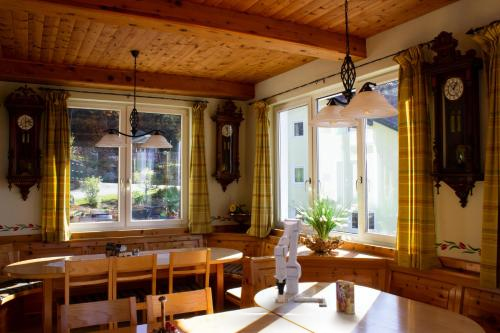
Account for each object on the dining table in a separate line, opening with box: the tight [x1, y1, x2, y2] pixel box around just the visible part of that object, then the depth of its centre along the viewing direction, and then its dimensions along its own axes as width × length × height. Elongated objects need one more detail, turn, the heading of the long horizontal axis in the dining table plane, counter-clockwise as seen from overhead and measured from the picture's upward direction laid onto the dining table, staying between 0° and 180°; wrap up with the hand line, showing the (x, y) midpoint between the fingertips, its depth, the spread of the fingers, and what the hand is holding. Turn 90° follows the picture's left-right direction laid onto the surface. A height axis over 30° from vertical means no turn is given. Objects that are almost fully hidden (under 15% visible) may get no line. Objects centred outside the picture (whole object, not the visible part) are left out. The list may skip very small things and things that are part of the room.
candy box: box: [335, 279, 356, 315], centre depth 218 cm, size 9×4×15 cm, turn 39°
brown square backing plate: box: [274, 298, 289, 304], centre depth 235 cm, size 8×7×1 cm
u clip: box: [277, 290, 286, 302], centre depth 235 cm, size 5×4×4 cm
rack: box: [294, 296, 327, 308], centre depth 233 cm, size 12×18×3 cm, turn 84°
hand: (281, 292), depth 235 cm, fingers open, 7 cm apart
